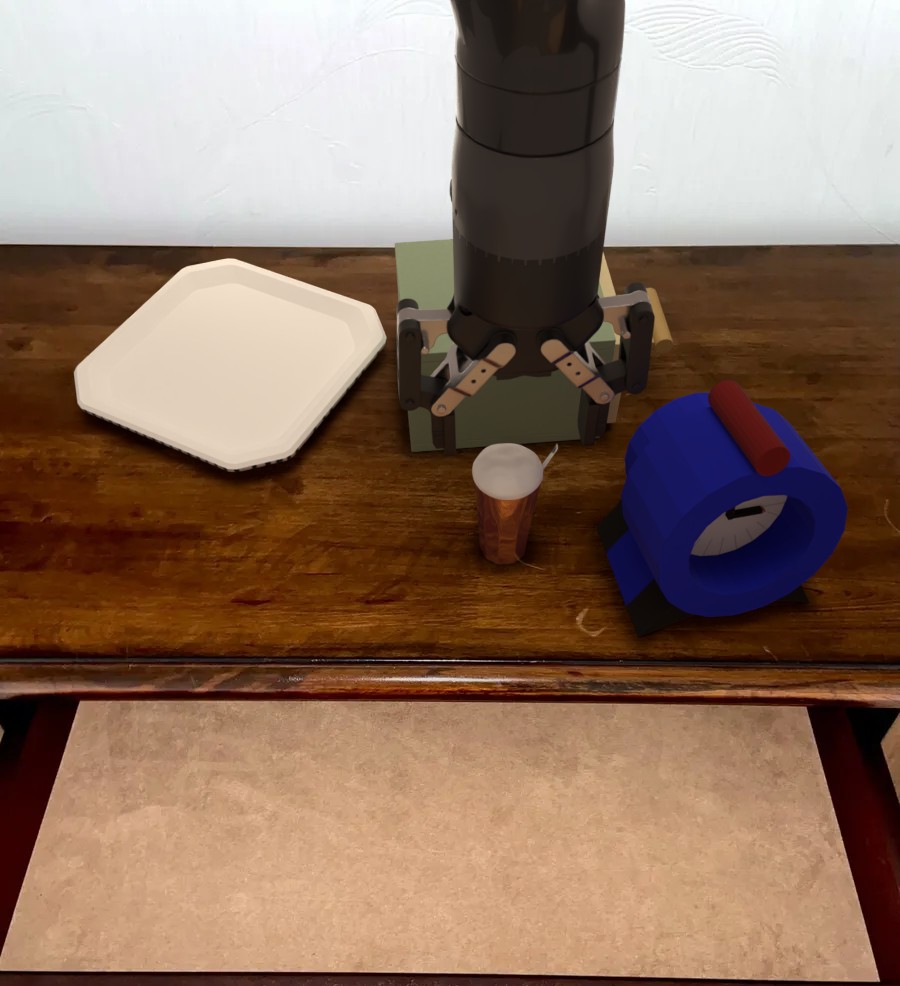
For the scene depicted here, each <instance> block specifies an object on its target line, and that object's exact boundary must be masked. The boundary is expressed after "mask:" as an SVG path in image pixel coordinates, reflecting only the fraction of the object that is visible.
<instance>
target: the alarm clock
mask: <svg viewBox="0 0 900 986" xmlns="http://www.w3.org/2000/svg"><path fill="white" fill-rule="evenodd" d="M624 470H625V476H626V478H625V481H624V485H623V488H622V491H621V495H620V500H619V501H618V502H617V503H616V504H615V506H614V507H613V508H612V509H611V510H610V511H609V513H608V514H607V515H606V516H605V517H604V518H603V520H602V521H600V523H599V524H598V525H597V526H596V531H597V533H598V536H599V539H600V541H601V544H602V546H603V549H604V551H605V554H606V556H607V560H608V562H609V565H610V567H611V570H612V572H613V575H614V579H615V581H616V582H617V586H618V588H619V591H620V593H621V596H622V599H623V601H624V604H625V606H626V609H627V612H628V614H629V617H630V619H631V623H632V625H633V628H634V630H635V633H636V635H637V638H640V637H642V636H646V635H648V634H651V633H654V632H655V631H658V630H660V629H663V628H665V627H668V626H671V625H673V624H675V623H678V622H680V621H683V620H685V619H688V618H691V617H693V616H695V615H696V616H700V617H701V616H702V617H707V618H715V617H717V618H718V617H727V616H737V615H741V614H743V613H747V612H750V611H754V610H757V609H760V608H764V607H766V606H768V605H769V604H771V603H774V602H775V601H776V602H777V601H778V602H791V603H802V604H803V603H804V604H810V603H811V602H810V600H809V598H808V596H807V594H806V591H805V589H804V587H803V584H804V583H805V582H808V580H810V579H811V578H812V577H813V576H815V575H816V573H817V572H818V571H819V570H820V569H821V567H822V566H823V565H824V564H825V563H826V562H827V561H828V559H830V557H831V556H832V555H833V554H834V552H835V550H836V548H837V546H838V544H839V542H840V541H841V539H842V536H843V534H844V533H845V531H846V523H847V516H848V505H847V501H846V498H845V496H844V495H845V494H844V493H843V490H842V487H841V486H840V485H839V483H837V480H835V478H834V477H833V476H832V475H831V474H830V472H829V471H828V469H827V468H826V467H825V466H824V465H823V464H822V461H821V460H820V459H818V457H817V456H816V454H815V453H814V452H813V450H811V448H810V447H809V445H808V444H807V443H806V442H805V440H804V439H803V438H802V436H801V435H800V434H799V433H798V432H797V430H796V429H795V428H794V426H793V425H792V424H791V423H790V422H789V421H788V420H787V419H786V418H784V416H782V415H781V414H780V413H779V412H778V411H777V410H776V409H773V408H771V407H768V406H764V405H761V404H759V403H755V402H753V401H752V400H751V399H750V397H749V396H748V395H747V394H746V392H745V391H744V390H743V388H742V386H741V385H740V384H739V383H738V382H737V381H736V380H733V379H724V380H721V381H719V382H717V383H716V384H715V385H714V386H713V387H711V389H710V390H709V392H694V393H691V394H688V395H684V396H680V397H678V398H674V399H673V400H671V401H669V402H668V403H666V404H664V405H663V406H661V407H659V408H657V409H656V410H654V411H653V412H652V413H651V414H650V415H649V416H648V417H647V418H646V419H645V420H644V421H643V422H642V423H640V424H639V426H638V428H637V429H636V431H635V432H634V434H633V436H631V439H630V440H629V442H628V445H627V449H626V452H625V456H624Z"/></svg>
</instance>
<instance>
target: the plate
mask: <svg viewBox="0 0 900 986" xmlns="http://www.w3.org/2000/svg"><path fill="white" fill-rule="evenodd" d="M387 339H388V337H387V335H386V332H385V329H384V327H383V325H382V322H381V320H380V317H379V315H378V313H377V310H376V308H374V307H373V306H372V305H371V304H368V303H365V302H362V301H359V300H358V299H357V300H356V299H353V298H351V297H349V296H345V295H342V294H339V293H336V292H333V291H330V290H328V289H325V288H321V287H318V286H315V285H313V284H310V283H307V282H304V281H301V280H299V279H295V278H292V277H290V276H289V277H288V276H287V275H283V274H280V273H277V272H275V271H272V270H269V269H266V268H263V267H259V266H257V265H254V264H252V263H249V262H246V261H242V260H239V259H238V258H237V259H236V258H223V259H217V260H213V261H207V262H203V263H197V264H192V265H187V266H185V267H183V268H181V269H180V270H179V271H178V272H176V274H175V275H173V276H172V277H171V278H170V279H169V280H168V281H167V282H166V283H164V285H162V287H160V289H159V290H157V291H156V292H155V293H154V294H153V295H152V296H151V297H150V298H149V299H147V300H146V301H145V302H144V303H143V304H142V305H140V307H139V308H138V309H136V311H135V312H134V313H133V314H132V315H130V317H128V318H127V319H126V320H125V321H123V323H122V324H120V325H119V326H118V327H117V328H116V329H115V330H114V331H113V332H112V333H111V334H110V335H109V336H107V337H106V338H105V340H103V341H102V342H101V343H100V344H99V345H98V346H97V347H96V348H95V349H94V350H92V351H91V353H89V354H88V355H87V356H86V357H85V358H84V359H83V360H82V361H81V362H79V363H78V364H77V365H76V367H75V369H74V371H73V376H74V377H73V378H74V385H75V393H76V402H77V405H78V407H79V408H80V409H81V410H82V411H83V412H84V413H86V414H89V415H91V416H93V417H96V418H98V419H101V420H103V421H106V422H107V423H110V424H113V425H116V426H118V427H120V428H123V429H125V430H127V431H130V432H132V433H135V434H137V435H139V436H142V437H144V438H147V439H149V440H151V441H154V442H157V443H159V444H161V445H163V446H166V447H169V448H170V449H173V450H176V451H178V452H180V453H183V454H185V455H188V456H189V457H192V458H195V459H197V460H200V461H202V462H204V463H207V464H209V465H211V466H213V467H216V468H219V469H221V470H223V471H225V472H229V473H241V472H244V471H248V470H252V469H253V470H254V469H258V468H262V467H265V466H270V465H274V464H279V463H282V462H283V463H284V462H287V461H289V460H290V459H292V458H293V457H294V456H295V455H296V454H297V453H298V452H299V450H300V449H301V448H302V447H303V446H304V444H305V443H306V442H307V441H308V440H309V438H310V437H311V436H312V435H313V434H314V432H315V431H316V430H317V429H318V427H319V426H320V425H321V424H322V422H323V421H325V419H326V418H327V417H328V416H329V415H330V413H331V412H332V411H333V409H334V408H335V407H336V406H337V405H338V403H339V402H340V401H341V400H342V399H343V398H344V396H345V395H346V394H347V393H348V391H349V390H350V389H352V387H353V385H355V383H356V382H357V381H358V379H359V378H360V377H361V376H362V374H363V373H364V372H365V371H366V370H367V369H368V368H369V366H371V364H372V363H373V362H374V360H375V359H376V358H377V357H378V356H379V354H380V353H381V352H382V351H383V349H384V348H385V347H386V345H387V341H388V340H387Z"/></svg>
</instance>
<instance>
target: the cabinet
mask: <svg viewBox="0 0 900 986" xmlns="http://www.w3.org/2000/svg"><path fill="white" fill-rule="evenodd" d="M394 257H395V268H396V269H395V271H396V285H397V297H398V299H397V300H398V302H399V301H401V300H403V299H406V298H409V299H413V300H415V301H416V302H417V303H418V306H419V310H420V309H447V306H448V305H449V303H450V302H451V300H452V298H453V295H454V264H453V238H448V239H434V240H431V239H430V240H418V241H404V242H403V241H402V242H394ZM598 295H599V297H604V296H603V292H602V289H601V285H600V281H599V287H598ZM588 341H589V343H590V345H591V347H592V348H593V349H594V350H595V351H596V352H597V354H598V355H599V356H600V357H601V358H602V359H603V360H604V361H605V362H606V364H607V363H610V362H612V361H613V355H614V348H615V343H616V338H615V335H614V331H613V327H612V324H611V323H609V322H603V324H602V326H601V327H600V329H599V330H598V331H597V332H596V333H595V334H594V335H593V336H592V337H591V338H590V339H589V340H588ZM453 343H454V342H453V341H452V340H451V339H450V337H449V336H448V333H446V334H442V335H440V336H438V337H437V339H436V341H435V344H434V346H433V347H432V348H431V349H429V350H430V351H429V353H428V354H422V353H421V375H426V376H431V375H432V373H433V372H434V371H435V370H436V369H437V368H438V367H439V366H440V364H441V363H442V362H443V361H444V360H445V359H446V357H447V354H448V350H449V348H450V347H451V345H452V344H453ZM580 396H581V388H577V387H576V386H575V385H574V384H573V383H572V382H571V381H570V380H569V379H568V378H567V377H566V375H565V374H564V373H563V372H562V371H561V370H560V369H558V370H556V371H554V372H552V373H551V376H548V377H532V376H521V377H517V378H513V379H509V380H496V376H491V377H490V378H489V379H488V380H487V381H486V382H485V383H484V385H483V386H482V387H481V388H480V389H479V390H478V391H477V392H476V393H475V394H474V395H473V396H471V397H469V396H466V397H465V398H464V399H463V400H462V401H461V402H460V403H459V404H458V405H457V406H456V407H455V408H454V410H455V429H456V450H458V449H471V448H484V447H485V448H486V447H488V446H491V445H494V444H503V443H512V444H518V445H523V444H537V443H548V442H549V443H550V442H562V441H565V442H566V441H577V440H580V435H579V431H578V412H579V404H580ZM407 417H408V428H409V439H410V441H409V442H410V451H411V453H417V452H418V453H419V452H432V451H444V448H442V449H436V448H435V446H434V445H433V441H432V431H431V416H430V412H429V411H428V410H427V409H425V408H422V407H418V408H417V409H416V410H413V411H407ZM595 439H601V438H600V437H595Z"/></svg>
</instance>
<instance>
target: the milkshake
mask: <svg viewBox="0 0 900 986" xmlns="http://www.w3.org/2000/svg"><path fill="white" fill-rule="evenodd" d="M558 450H559V445H558V443H556V444H555V445H554V447H553V448H552V450H551V451H550V452H549V453H548V455H547V457H546V458H545V460H544V461H543V462H541V460H540V458H539V456H538V455H537V454H536V453H535V452H534V451H533V450H532V449H530V448H529V447H525V446H523V445H522V444H512V443H503V444H494V445H491V446H485V448H484V449H482V450H481V451H480V452H479V453H478V455H477V457H476V458H475V459H474V461H473V463H472V468H471V475H472V482H473V489H474V491H473V492H474V497H475V504H476V505H475V506H476V507H475V508H476V517H477V528H478V529H477V530H478V541H479V548H480V550H481V552H482V554H483V556H484V558H485V559H486V560H488V561H489V562H491V563H494V564H496V565H498V566H502V565H513V564H515V563H516V562H518V561H519V560H521V558H523V557H524V556H525V552H526V547H527V545H528V540H529V535H530V529H531V524H532V520H533V516H534V515H533V514H534V510H535V508H536V504H537V501H538V497H539V494H540V489H541V485H542V481H543V478H544V470H545V468H546V467H547V466H548V464H549V463H550V462H551V460H552V459H553V458H554V456H555V455H556V453H557V451H558Z"/></svg>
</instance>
